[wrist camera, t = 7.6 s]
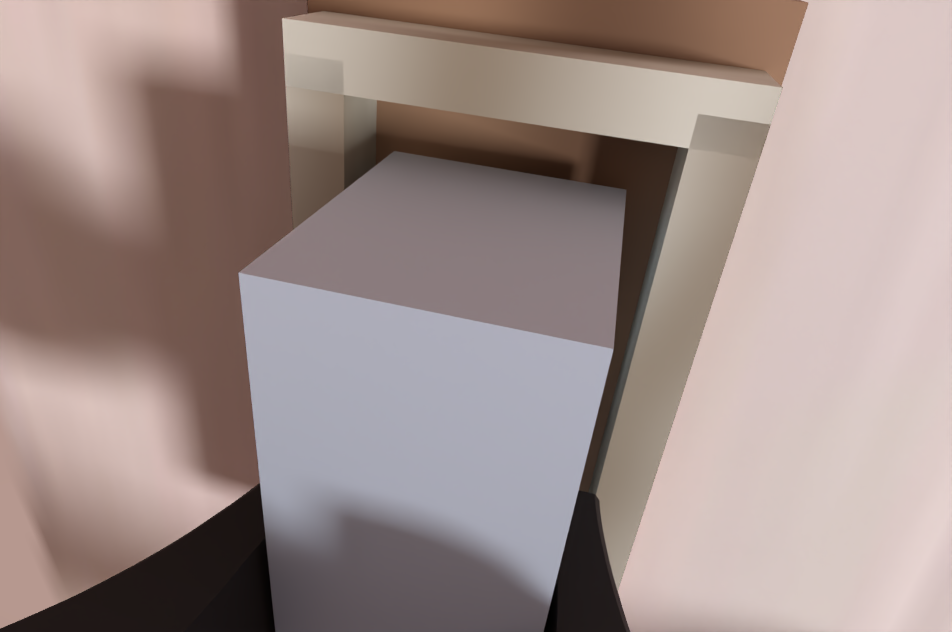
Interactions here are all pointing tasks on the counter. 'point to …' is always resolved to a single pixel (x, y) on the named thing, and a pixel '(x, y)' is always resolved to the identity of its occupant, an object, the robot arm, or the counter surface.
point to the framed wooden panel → (566, 154)
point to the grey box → (429, 394)
